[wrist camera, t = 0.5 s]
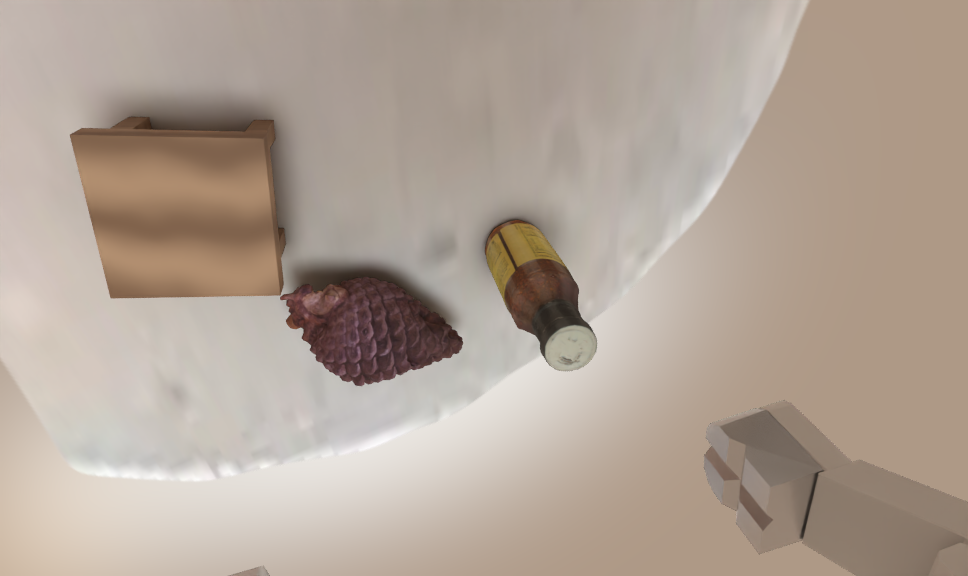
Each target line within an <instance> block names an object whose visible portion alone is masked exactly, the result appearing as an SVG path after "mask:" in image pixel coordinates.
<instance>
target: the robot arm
mask: <svg viewBox="0 0 968 576" xmlns="http://www.w3.org/2000/svg"><path fill="white" fill-rule="evenodd" d="M706 439H707V440H708V441H709V443H710V444H711V445H712V446H711V447H710V448H709V450H708V451H707V452H706V454H705V455H704V469H705V472H706V476H707V480H708V482H709V484H710V486H711V488H712V490H713V492H714V494H715V495H716V497H717V498H718V499H719V501H720V502H721V504H723V505H725V506H727V507H729V508H731V509H733V510H735V511H737V515H736V516H737V518H736V524H737V525H738V527H739V528H740V529H741V531H742V532H743V534H744V535H745V536H746V538H747V539H748V540H749V541H750V543H751V544H752V545H753V547H754V548H755V549H756V551H757V552H758V554H762V553H765V552H768V551H771V550H774V549H777V548H780V547H783V546H787V545H790V544H793V543H796V542H799V541H802V540H803V542H802V543H803V544H805V545H806V546H808V547H809V548H811V549H813V550H814V551H816V552H818V553H819V554H821V555H823V556H824V557H826V558H828V559H829V560H831V561H833V562H834V563H836V564H838V565H839V566H841V567H843V568H844V569H846V570H848V571H849V572H851V573H853V574H854V575H856V576H968V502H967V501H964V500H962V499H959V498H957V497H954V496H952V495H949V494H946V493H944V492H941V491H939V490H936V489H934V488H931V487H929V486H926V485H923V484H921V483H918V482H916V481H913V480H911V479H908V478H906V477H903V476H900V475H898V474H895V473H893V472H890V471H888V470H885V469H883V468H880V467H877V466H875V465H872V464H870V463H867V462H865V461H862V460H856V461H853V462H852V461H851V460H850V459H849V458H848V457H847V456H846V455H845V454H844V453H843V452H842V451H841V450H840V449H839V448H838V447H836V446H835V445H834V444H833V443H832V442H831V441H830V440H829V439H828V438H827V437H826V436H825V435H824V434H823V433H822V432H821V431H820V430H819V429H818V428H817V427H816V426H815V425H814V424H812V423H811V422H810V421H809V420H808V419H807V418H806V417H805V416H804V415H803V414H802V413H801V412H800V411H799V410H798V409H797V408H796V407H795V406H794V405H793V404H792V403H790V402H787V401H785V400H783V401H779V402H776V403H773V404H770V405H767V406H764V407H760V408H758V409H757V408H755V409H752V410H749V411H746V412H743V413H740V414H737V415H734V416H731V417H728V418H725V419H722V420H719V421H716V422H713V423H710V425H709V426H708V428H707V432H706ZM230 576H270V575H269V573H268V572H267V570H266V569H265V567H264V566H261V567H257V568H254V569H250V570H247V571H243V572H240V573H236V574H233V575H230Z"/></svg>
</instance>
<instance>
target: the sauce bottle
mask: <svg viewBox="0 0 968 576" xmlns="http://www.w3.org/2000/svg"><path fill="white" fill-rule="evenodd" d="M485 254H486V257H487V263H488V266H489V269H490V271H491V273H492V275H493V278H494V280H495V282H496V284H497V287H498V289H499V291H500V293H501V295H502V298H503V300H504V302H505V305H506V307H507V309H508V311H509V312H510V313H511V315H512V318H513V319H514V322H515V323H516V325H517V327H518V328H519V329H522V330H525V331H527V332H529V333H531V334H534V335H535V336H536V337H537V338H538V340H539V342H540V350H541V353H542V355H543V356H544V358H545V359H546V362H547V363H548V364H549V365H550V366H551V367H553V368H554V369H556V370H559V371H572V370H576V369H579V368H581V367H584V366H585V365H587V364H588V363H589V362H590V360H592V358H593V356H594V354H595V352H596V349H597V339H596V336H595V334H594V333H593V330H592V329H591V327H590V326H589V324H588V323H587V322H585V321H584V320H583V319H582V318H581V315H580V313H579V311H578V294H579V288H578V285H577V284H576V282H575V281H574V279H573V277H572V276H571V274H570V272H569V270H568V269H567V267H566V266H565V264H564V263H563V262H562V260H561V259H560V257H559V256H558V255H557V253H556V252H555V250H554V249H553V248H552V246H551V245H550V243H549V242H548V241H547V239H546V238H545V236H544V235H543V234H542V232H541V231H540V230H538V229H537V228H536V227H534V226H533V225H530V224H529V223H527V222H523V221H521V220H514V221H509V222H507V223H504V224H502V225H500V226H498V227H497V228H495V229H494V230H493V231H492V233H491V234H490V236H489V237H488V241H487V244H486V248H485Z"/></svg>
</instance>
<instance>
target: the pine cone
mask: <svg viewBox="0 0 968 576" xmlns="http://www.w3.org/2000/svg"><path fill="white" fill-rule="evenodd" d="M287 299H288V300H287ZM280 300H287V304H286V305H287V306H288V307H290V309H289V312H290V313H291V315H290V316H289V317H288V318H287V320H286V322H287V325H288V326H289V327H290V328H292V329H298V328H300V327H301V328H303V329H304V333H303V336H302V339H303V341H306V342H308V343H309V344H310V345H311V348H310V351H311V352H312V353H314V354H316V360H317V361H318V362H321V363H323V365H324V366H325V368H326V369H328V370H329V372H332V373H334V374H335V375H338V376H340V378H341V379H342V381H347V382H350V381H352V380H353V382H354V384H355V385H357V386H362V385H364V382H365V383H367V384H372V383H373V382H377V383H379V382H380V381H382V380H390V379H393V378H395V376H396V374H398V375H402V374H403V373H405V372H407V371H408V370H410V369H412V370H416V369H420V368H423V367H424V366H427V365H431V364H432V362H434V361H436V362H439V361H440V360H442V358H451V357H452V355H453V354H454V353H455V354H457V353H459V350H461V348H462V345H463V341H462V337H460V336H458V333H457V331H455V330H453V329H452V327H451V326H450V325H448V324H446V323H445V320H444V318H442V317H439V315H438V314H437V313H435V312H433V313H431V312H430V310H429V309H427V308H426V307H424V306H422V304H421V302H420V301H418V300H413V297H412V296H411V295H408V294H406V292H405V290H404V289H402V288H398V287H397V286H396V285H395V284H393V283H388V282H386V281H380V280H378V279H376V278H369V277H363V278H362V279H361V278H355V279H354V280H348V281H346V280H345V281H342V282H341V284H340V285H332V284H329V285H327V286H326V288H324V289H323V290H322V291H319V290H318V291H317V292H313V287H312V286H311V285H309V284H306V285H303V286H301V287H298V288H297V289H296V290H295V291H294V292H293V293H291V294H284V295H283V296H281V297H280Z"/></svg>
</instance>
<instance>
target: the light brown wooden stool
mask: <svg viewBox="0 0 968 576" xmlns="http://www.w3.org/2000/svg"><path fill="white" fill-rule="evenodd" d="M70 138H71V142H72V146H73V150H74V154H75V158H76V162H77V166H78V170H79V174H80V178H81V182H82V186H83V190H84V194H85V198H86V202H87V206H88V210H89V214H90V218H91V222H92V226H93V230H94V234H95V237H96V241H97V245H98V249H99V253H100V257H101V261H102V265H103V269H104V273H105V277H106V281H107V285H108V289H109V293H110V297H111V298H157V297H214V296H271V295H281V292H282V288H283V285H284V282H283V272H282V263H281V257H282V254H283V251H284V248H285V245H286V241H285V231H284V228H278V224H277V214H276V205H275V195H274V185H273V176H272V166H271V157H270V147H271V145H272V144H273V142H274V140H275V130H274V120H254V121H253V122H252V123H251V124H250V126H249V127H248V128H247V129H246V131H245V132H241V131H193V130H152V129H151V123H150V118H149V117H128V118H126V119H125V120H123V121H121V122H120V123H118V124H117V125H115V126H113V127H112V128H110V129H98V128H81V129H80V130H78V131H76V132H74V133H72V134H71V135H70Z"/></svg>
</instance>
